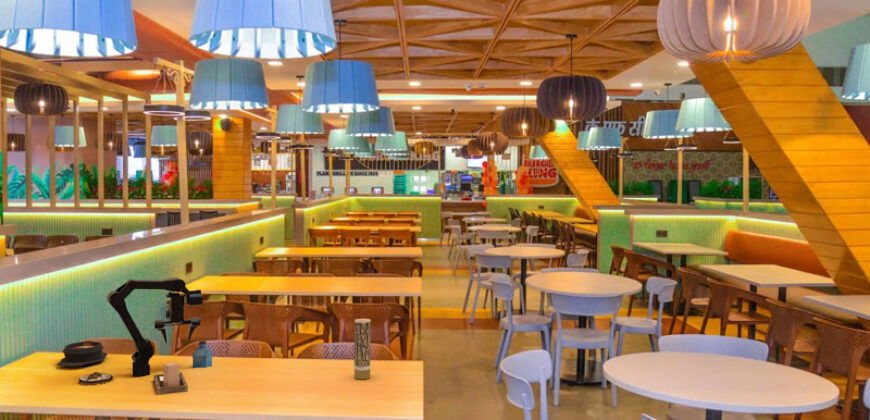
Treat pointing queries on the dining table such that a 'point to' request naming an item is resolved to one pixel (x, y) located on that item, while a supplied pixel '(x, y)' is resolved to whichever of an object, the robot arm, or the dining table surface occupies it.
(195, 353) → the perfume bottle
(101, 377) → the sushi roll
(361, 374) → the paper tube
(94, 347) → the casserole
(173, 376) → the clay blank
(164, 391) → the rack
